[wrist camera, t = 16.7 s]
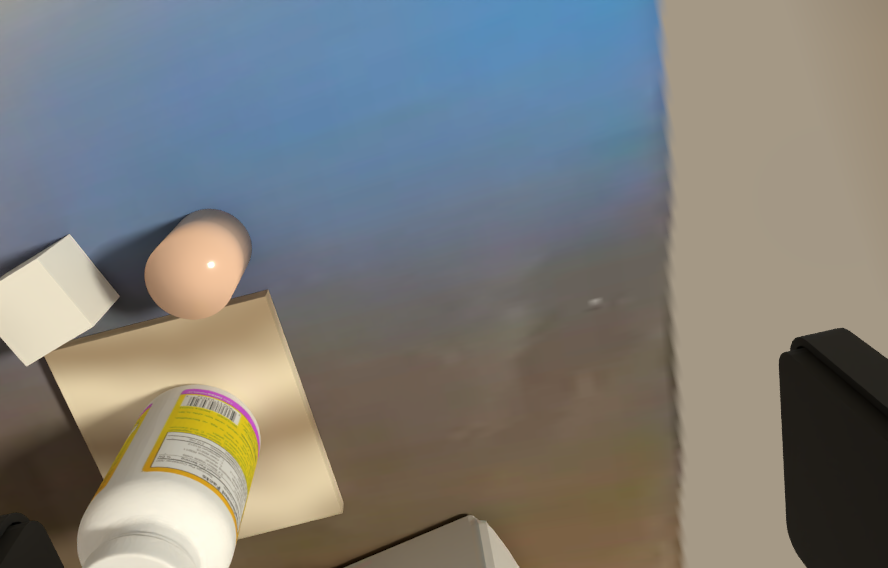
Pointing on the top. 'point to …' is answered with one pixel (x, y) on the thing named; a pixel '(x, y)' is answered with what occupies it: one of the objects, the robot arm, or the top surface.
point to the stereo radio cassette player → (447, 549)
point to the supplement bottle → (175, 485)
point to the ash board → (214, 364)
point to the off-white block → (51, 300)
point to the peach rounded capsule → (198, 264)
